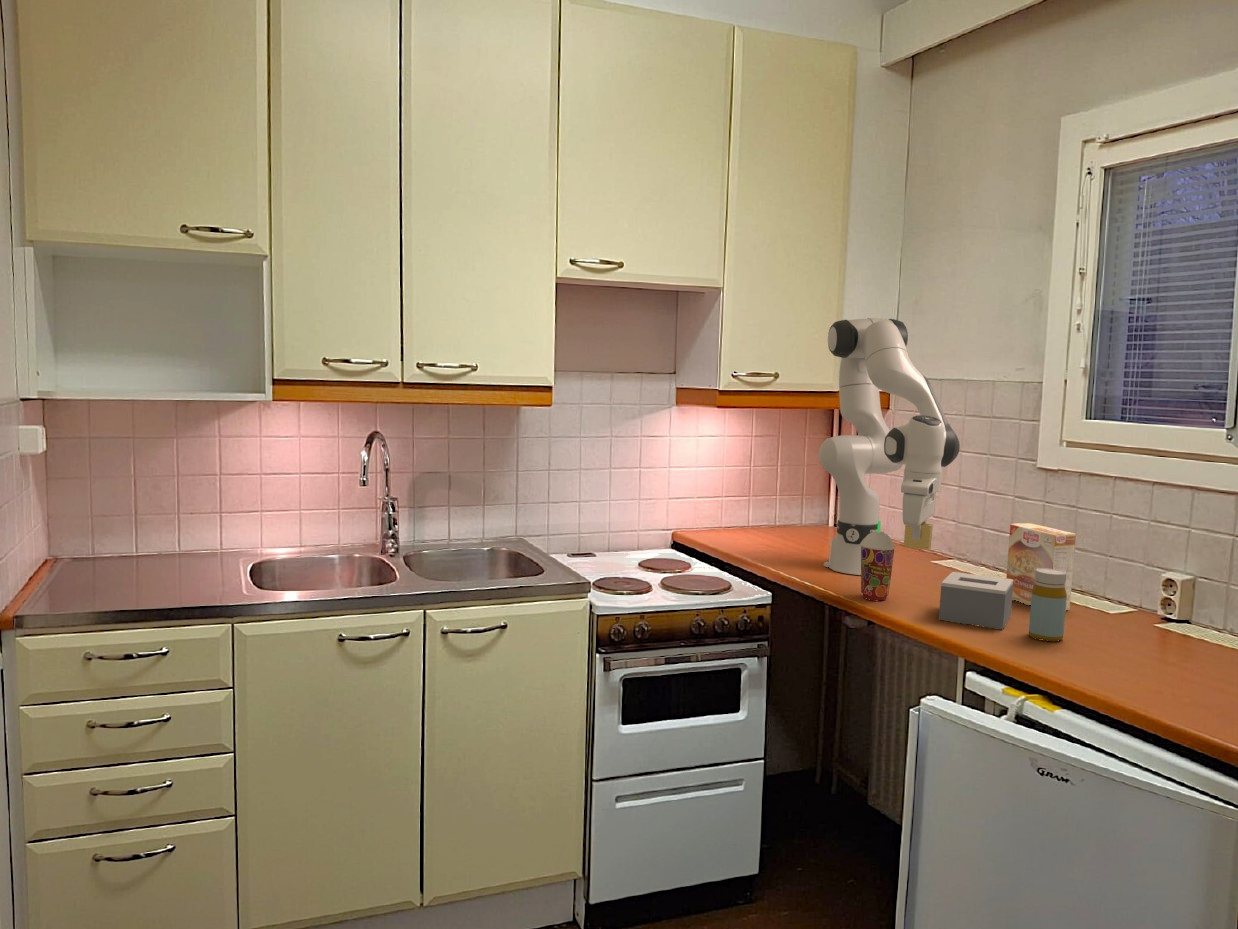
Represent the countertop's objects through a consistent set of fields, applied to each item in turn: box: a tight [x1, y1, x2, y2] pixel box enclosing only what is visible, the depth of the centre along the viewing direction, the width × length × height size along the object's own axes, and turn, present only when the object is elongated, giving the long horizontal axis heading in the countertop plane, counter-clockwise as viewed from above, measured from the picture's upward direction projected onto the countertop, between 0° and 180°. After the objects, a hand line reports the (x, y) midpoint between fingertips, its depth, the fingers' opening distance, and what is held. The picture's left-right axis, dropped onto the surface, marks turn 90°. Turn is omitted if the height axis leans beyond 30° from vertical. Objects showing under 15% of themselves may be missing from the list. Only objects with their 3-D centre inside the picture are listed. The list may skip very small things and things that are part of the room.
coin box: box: [938, 571, 1013, 630], centre depth 224 cm, size 14×14×9 cm
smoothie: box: [860, 520, 896, 601], centre depth 240 cm, size 8×8×20 cm
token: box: [903, 523, 934, 551], centre depth 234 cm, size 2×6×6 cm, turn 61°
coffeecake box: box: [1005, 522, 1077, 611], centre depth 239 cm, size 15×7×20 cm, turn 21°
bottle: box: [1028, 568, 1067, 642], centre depth 209 cm, size 7×7×15 cm
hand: (917, 538), depth 234 cm, fingers closed on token, 2 cm apart
